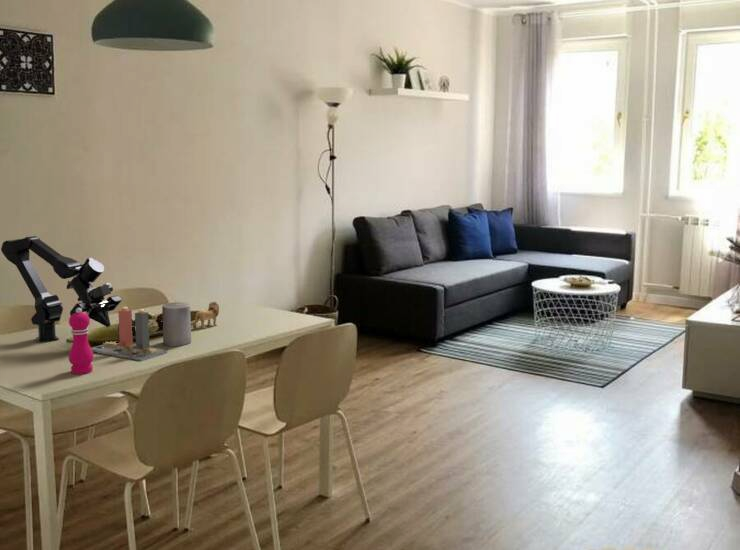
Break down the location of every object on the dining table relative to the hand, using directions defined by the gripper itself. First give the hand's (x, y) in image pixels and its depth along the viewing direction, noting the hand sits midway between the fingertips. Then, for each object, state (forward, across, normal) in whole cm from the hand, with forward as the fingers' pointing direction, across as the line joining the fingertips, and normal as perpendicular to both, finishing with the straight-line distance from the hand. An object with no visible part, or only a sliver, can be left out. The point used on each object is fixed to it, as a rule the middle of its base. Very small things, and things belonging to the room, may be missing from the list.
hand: (109, 326), depth 276 cm
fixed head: (+15, -1, -6) cm, 16 cm away
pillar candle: (+16, +18, -5) cm, 24 cm away
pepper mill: (+16, -25, -5) cm, 30 cm away
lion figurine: (+10, +43, +1) cm, 44 cm away
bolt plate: (+12, -1, -1) cm, 12 cm away
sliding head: (+10, -1, -1) cm, 10 cm away
